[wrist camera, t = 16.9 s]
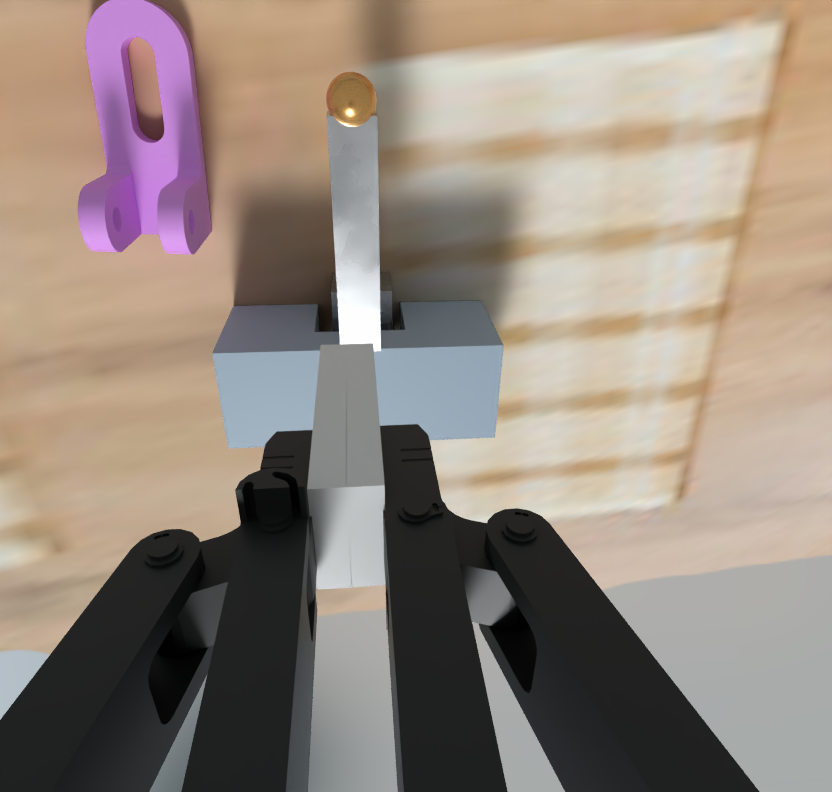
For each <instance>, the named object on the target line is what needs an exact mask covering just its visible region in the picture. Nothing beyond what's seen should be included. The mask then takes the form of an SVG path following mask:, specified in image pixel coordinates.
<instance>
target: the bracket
mask: <svg viewBox="0 0 832 792" xmlns="http://www.w3.org/2000/svg"><path fill="white" fill-rule="evenodd" d="M136 37H140V38H142V39H144V40H145V41H147V42H148V43H149V44H150V46H151V47H152V49H153V51H154V54H155V61H156V68H157V76H158V83H159V91H160V98H161V106H162V114H163V121H164V135H163V137H162V138H161V139H160V140H153V139H150V138H148V137H147V136H145V135H144V134H143V133H142V131H141V129H140V127H139V124H138V118H137V111H136V104H135V98H134V91H133V85H132V78H131V71H130V65H129V58H128V46H129V43H130V42H131V41H132V40H133V39H134V38H136ZM85 43H86V53H87V58H88V64H89V69H90V75H91V80H92V86H93V92H94V97H95V103H96V108H97V114H98V119H99V125H100V130H101V136H102V141H103V147H104V153H105V158H106V164H107V172H106V174H105V175H103V176H101V177H100V178H98V179H96V180H94V181H92V182H90V183H88V184H86V185H85V186H84V187H83V188H82V190H81V192H80V195H79V200H78V219H79V225H80V230H81V233H82V236H83V239H84V241H85V243H86V245H87V246H88V247H89V249H91V250H92V251H102V252H122V251H123V250H124V249H125V248H127V247H128V246H129V245H130V244H131V243H132V242H133V241H134V240H135V239H136V238H138V237H139V236H140V235H141V234H158V235H160V240H161V243H162V246H163V248H164V250H165V251H166V252H167V253H168V254H195V253H196V251H197V250H198V249H199V247H200V246H201V245H202V243H203V242H204V241H205V239H206V238H207V237H208V235H209V234H210V233H211V231H212V229H211V219H210V210H209V200H208V191H207V181H206V172H205V162H204V153H203V143H202V134H201V124H200V115H199V105H198V96H197V86H196V77H195V67H194V58H193V52H192V48H191V45H190V42H189V39H188V37H187V35H186V33H185V31H184V30H183V28H182V27H181V25H180V24H179V23H178V21H177V20H176V19H175V18H174V17H173V16H172V15H171V14H170V13H169V12H168V11H166V10H165V9H163V8H162V7H160V6H159V5H157V4H155V3H152V2H150V1H147V0H109V1H107V2H105V3H104V4H102V5H101V6H100V7H99V8H98V9H97V10H96V11H95V12H94V14H93V15H92V17H91V19H90V21H89V23H88V26H87V31H86V39H85Z"/></svg>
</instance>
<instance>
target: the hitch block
mask: <svg viewBox="0 0 832 792" xmlns="http://www.w3.org/2000/svg"><path fill="white" fill-rule="evenodd" d="M334 344H340V334H339V332H320V327H319V313H318V304H298V305H252V306H233V308H232V310H231V312H230V315H229V317H228V319H227V321H226V324H225V326H224V328H223V330H222V333H221V335H220V337H219V339H218V342H217V344H216V346H215V348H214V350H213V353H212V356H213V361H214V367H215V373H216V379H217V385H218V391H219V397H220V403H221V408H222V414H223V420H224V426H225V432H226V438H227V444H228V448H251V447H265V444H266V443H267V441H268V440H269V439H270V438H271V437H272V436H273V435H274V434H275V433H276V431H299V430H313V421H314V410H315V399H316V389H317V378H318V367H319V357H320V346H321V345H334ZM502 356H503V343H502V341H501V339H500V337H499V335H498V333H497V331H496V329H495V327H494V325H493V323H492V321H491V319H490V317H489V315H488V313H487V311H486V309H485V308H484V306H483V304H482V302H481V301H436V302H400V330H381V351H374V360H375V373H376V385H377V397H378V410H379V422H380V426H383V425H407V424H418V425H419V426H420V427H421V428H422V429H423V430H424V431H425V432H426V433H427V434H428V436H429V440H445V439H469V438H493V437H495V432H496V421H497V410H498V400H499V389H500V378H501V367H502Z"/></svg>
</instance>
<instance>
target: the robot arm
mask: <svg viewBox="0 0 832 792" xmlns="http://www.w3.org/2000/svg"><path fill="white" fill-rule="evenodd" d="M235 491H236V497H237V503H238V508H239V514H240V520H241V525H240V526H239V527H238V528H237V529H235V530H233V531H231V532H229V533H227V534H225V535H222V536H219V537H216V538H213V539H209V540H206V541H202V542H200V541H199V538H198V537H196V536H195V535H194V534H193V533H192V532H189V531H185V530H182V529H171V530H164V531H160V532H157V533H153V534H151V535H150V536H148V537H146V538H144V539H142V540H140V541H139V542H138V543H137V544H136V545H135V546H134V547H133V548H132V549H131V550H130V551H129V553H128V554H127V555H126V557H125V558H124V559H123V561H122V562H121V563H120V564H119V566H118V567H117V568H116V570H115V571H114V572H113V574H112V575H111V576H110V578H109V579H108V580H107V581H106V583H105V584H104V585H103V587H102V588H101V589H100V591H99V592H98V593H97V594H96V596H95V597H94V598H93V600H92V601H91V602H90V604H89V605H88V606H87V608H86V609H85V610H84V611H83V613H82V614H81V615H80V617H79V618H78V619H77V621H76V622H75V623H74V625H73V626H72V627H71V628H70V630H69V631H68V632H67V634H66V635H65V636H64V638H63V639H62V640H61V641H60V643H59V644H58V645H57V647H56V648H55V649H54V651H53V652H52V653H51V655H50V656H49V657H48V659H47V660H46V661H45V662H44V664H43V665H42V666H41V668H40V669H39V670H38V672H37V673H36V674H35V676H34V677H33V678H32V679H31V681H30V682H29V683H28V685H27V686H26V687H25V689H24V690H23V691H22V692H21V694H20V695H19V696H18V698H17V699H16V700H15V702H14V703H13V704H12V705H11V707H10V708H9V710H8V711H7V712H6V713H5V715H4V716H3V717H2V719H1V720H0V792H149V791H150V789H151V787H152V785H153V783H154V781H155V779H156V777H157V775H158V773H159V771H160V769H161V766H162V765H163V762H164V761H165V758H166V756H167V754H168V752H169V750H170V748H171V746H172V744H173V742H174V740H175V738H176V736H177V734H178V732H179V730H180V728H181V726H182V724H183V722H184V720H185V718H186V716H187V714H188V712H189V710H190V708H191V706H192V704H193V702H194V699H195V698H196V696H197V694H198V692H199V690H200V688H201V686H202V683H203V681H204V679H205V677H206V675H207V679H206V683H205V688H204V692H203V697H202V701H201V706H200V711H199V716H198V720H197V724H196V729H195V733H194V738H193V742H192V747H191V751H190V756H189V760H188V765H187V769H186V774H185V779H184V784H183V787H182V792H308V775H309V756H310V736H311V718H312V699H313V680H314V659H315V641H316V622H317V603H316V593H315V592H316V584H317V590H318V589H333V588H349V587H364V586H379V585H386V624H387V630H388V643H389V658H390V675H391V690H392V706H393V722H394V738H395V753H396V768H397V769H396V770H397V786H398V792H507V787H506V783H505V778H504V773H503V768H502V763H501V759H500V754H499V749H498V744H497V740H496V736H495V730H494V725H493V721H492V716H491V711H490V706H489V702H488V697H487V692H486V687H485V682H484V678H483V673H482V668H481V663H480V658H479V654H478V649H477V644H476V639H475V635H474V630H473V625H472V622H475V623H479V626H480V630H481V632H482V634H483V636H484V638H485V640H486V641H487V643H488V645H489V647H490V649H491V651H492V653H493V655H494V657H495V658H496V660H497V662H498V664H499V666H500V668H501V670H502V672H503V674H504V676H505V678H506V680H507V681H508V683H509V685H510V687H511V689H512V691H513V693H514V695H515V697H516V699H517V701H518V702H519V704H520V706H521V708H522V710H523V712H524V714H525V716H526V718H527V720H528V722H529V723H530V725H531V727H532V729H533V731H534V733H535V735H536V737H537V739H538V741H539V743H540V744H541V746H542V748H543V750H544V752H545V754H546V756H547V758H548V760H549V762H550V764H551V765H552V767H553V769H554V771H555V773H556V775H557V777H558V779H559V781H560V782H561V785H562V786H563V788H564V790H565V792H759V791H758V789H757V788H756V787H755V786H754V784H753V783H752V782H751V780H750V779H749V778H748V777H747V775H746V774H745V773H744V771H743V770H742V769H741V768H740V766H739V765H738V764H737V763H736V761H735V760H734V759H733V757H732V756H731V755H730V754H729V752H728V751H727V750H726V749H725V747H724V746H723V745H722V743H721V742H720V741H719V739H718V738H717V737H716V736H715V735H714V733H713V732H712V731H711V729H710V728H709V727H708V726H707V724H706V723H705V722H704V720H703V719H702V718H701V716H699V714H698V713H697V711H696V710H695V709H694V708H693V706H692V705H691V704H690V702H689V701H688V700H687V699H686V697H685V696H684V695H683V694H682V692H681V691H680V690H679V688H678V687H677V686H676V685H675V683H674V682H673V681H672V679H671V678H670V677H669V676H668V674H667V673H666V672H665V670H664V669H663V668H662V667H661V666H660V664H659V663H658V662H657V660H656V659H655V658H654V657H653V655H652V654H651V653H650V651H649V650H648V649H647V648H646V646H645V645H644V644H643V642H642V641H641V640H640V639H639V637H638V636H637V635H636V634H635V633H634V631H633V630H632V629H631V627H630V626H629V625H628V623H627V622H626V621H625V619H624V618H623V617H622V616H621V614H620V613H619V612H618V610H617V609H616V608H615V607H614V605H613V604H612V603H611V602H610V600H609V599H608V598H607V596H606V595H605V594H604V593H603V591H602V590H601V589H600V587H599V586H598V585H597V584H596V582H595V581H594V580H593V579H592V577H591V576H590V575H589V573H588V572H587V571H586V570H585V568H584V567H583V566H582V564H581V563H580V562H579V561H578V559H577V558H576V557H575V556H574V554H573V553H572V552H571V550H570V549H569V548H568V547H567V545H566V544H565V543H564V542H563V540H562V539H561V538H560V536H559V535H558V534H557V533H556V531H555V530H554V529H553V527H552V526H551V525H550V524H549V523H548V522H547V521H546V520H545V519H544V518H543V517H542V516H540V515H538V514H536V513H533V512H531V511H528V510H523V509H505V510H502V511H500V512H497V513H495V514H494V515H493V516H492V517H491V518H490V519H489V520H488V523H482V522H476V521H471V520H468V519H464V518H461V517H459V516H457V515H455V514H454V513H452V512H451V511H450V510H448V509H447V507H446V505H445V503H444V502H443V501H442V499H441V495H440V490H439V485H438V480H437V476H436V471H435V466H434V461H433V456H432V451H431V446H430V441H429V436H428V434H427V433H426V432H425V431H424V430H423V429H422V428H421V427H420V426H419V425H418V424H407V425H383V426H380V422H379V410H378V397H377V385H376V373H375V360H374V348H373V343H367V344H334V345H321V346H320V357H319V367H318V378H317V389H316V399H315V410H314V421H313V430H299V431H276V433H275V434H274V435H273V436H272V437H271V438H270V439H269V440H268V441H267V443H266V444H265V449H264V454H263V460H262V463H261V470H259V471H257V472H254V473H252V474H250V475H248V476H247V477H245V478H244V479H243V480H242V481H240V483H239V484H238V486H237V488H236V490H235ZM207 673H208V674H207Z"/></svg>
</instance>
